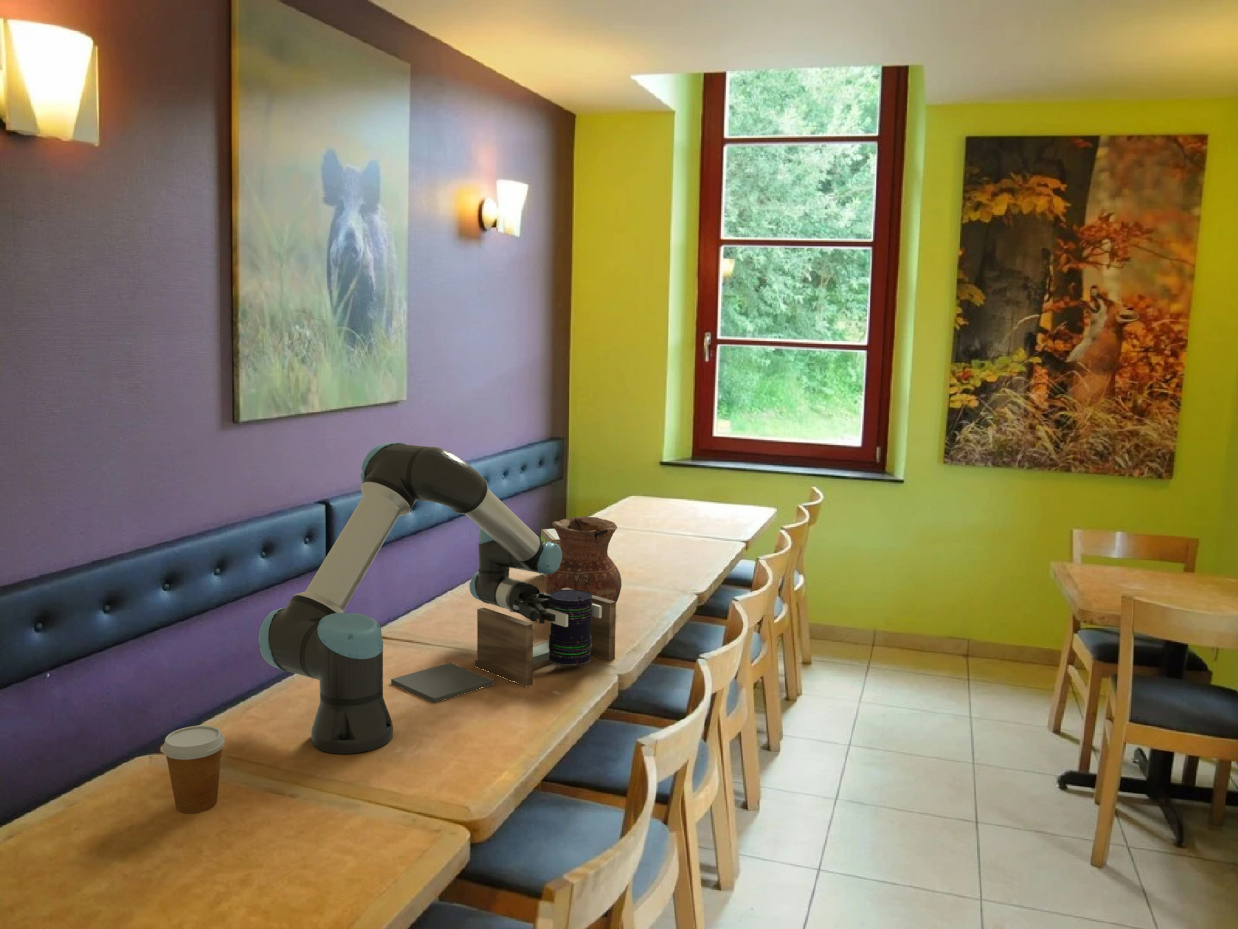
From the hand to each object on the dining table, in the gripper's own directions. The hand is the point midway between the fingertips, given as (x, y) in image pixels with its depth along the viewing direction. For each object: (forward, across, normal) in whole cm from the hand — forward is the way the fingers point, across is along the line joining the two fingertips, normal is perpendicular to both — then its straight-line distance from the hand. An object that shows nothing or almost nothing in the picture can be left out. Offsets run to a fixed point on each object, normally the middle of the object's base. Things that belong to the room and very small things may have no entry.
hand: (584, 616), depth 233 cm
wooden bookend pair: (-12, 0, -14) cm, 19 cm away
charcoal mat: (-17, +26, -14) cm, 34 cm away
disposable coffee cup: (+1, +89, -15) cm, 90 cm away
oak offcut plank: (-14, 0, -15) cm, 20 cm away
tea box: (-66, -55, -13) cm, 87 cm away
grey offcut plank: (-14, 0, -13) cm, 19 cm away
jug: (-37, -36, -14) cm, 53 cm away
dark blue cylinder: (-4, 0, -11) cm, 12 cm away
